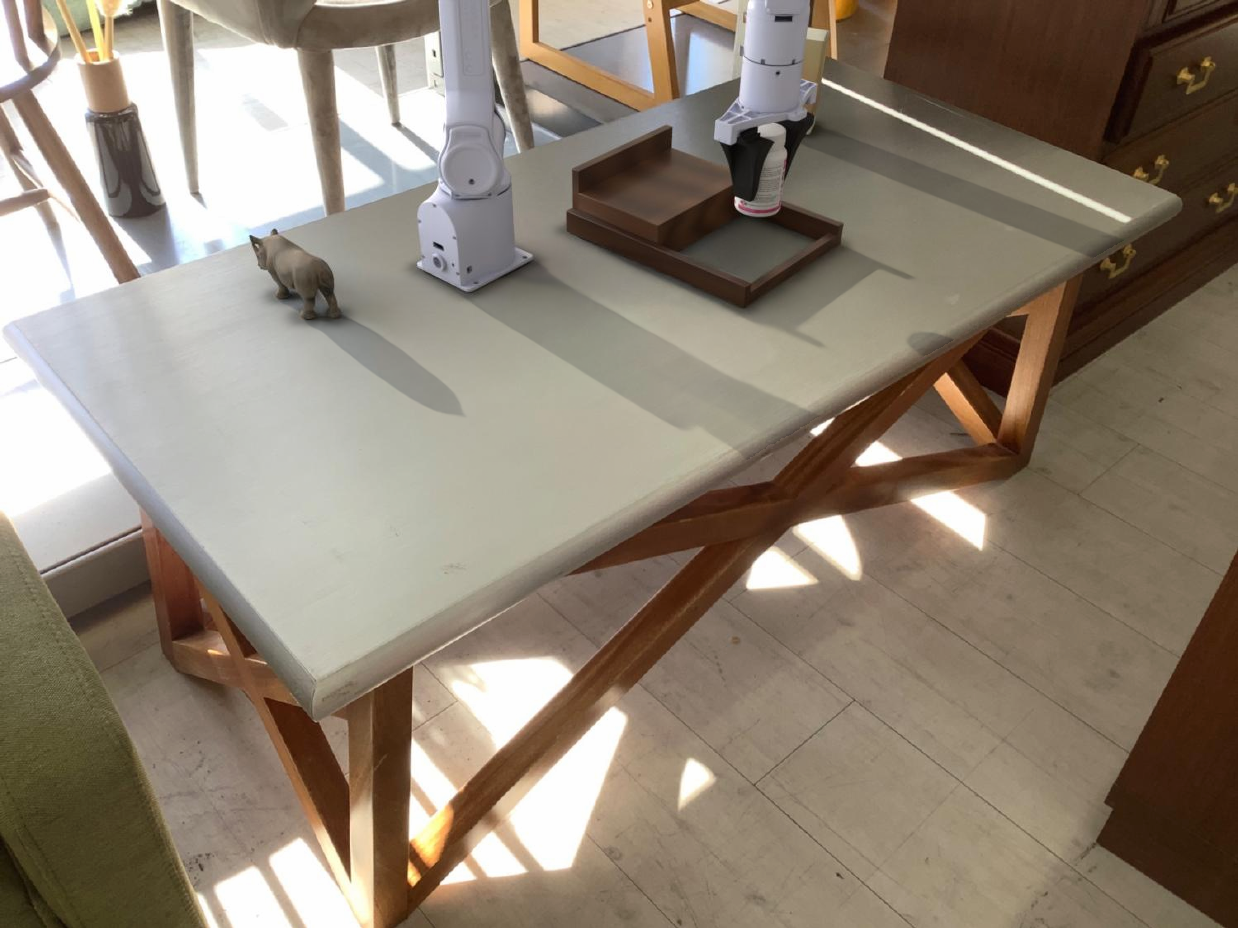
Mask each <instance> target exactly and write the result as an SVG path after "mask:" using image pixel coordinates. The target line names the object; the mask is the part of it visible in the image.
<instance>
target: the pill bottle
mask: <svg viewBox="0 0 1238 928" xmlns="http://www.w3.org/2000/svg"><path fill="white" fill-rule="evenodd" d="M759 132H760V133H761V134H760V136H761V137H764V138H766V139H769V140H772V141H774V142H775V143H774V144H773V146H772V147H771V149H770V151H769V153H768V155H767V157H766V159H765V162H764V165H763V168H762V171H761V176H760V181H759V186H758V191H757V194H756V197H755V199H754V200H753V201H751V202H748V201H745V200H743V199H740V198H737V197H735V207H736V209H737V210H738V211H739V212H741V213H743V214H742V215H746V216H749V217H754V218H759V217H766V216H771V215H774V214H776V213H777V212H778V211H779V210H780V207H781V200H783V199H782V198H783V191H784V183H785V181H784V175H785V167H786V159H787V151H786V149H785V147H784V145H785V138H786V129H785V128H784V127H783V126H782V125H780V124H777V123H770V124H765V125H761V126H759V127H758V133H759ZM783 182H784V183H783Z"/></svg>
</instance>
